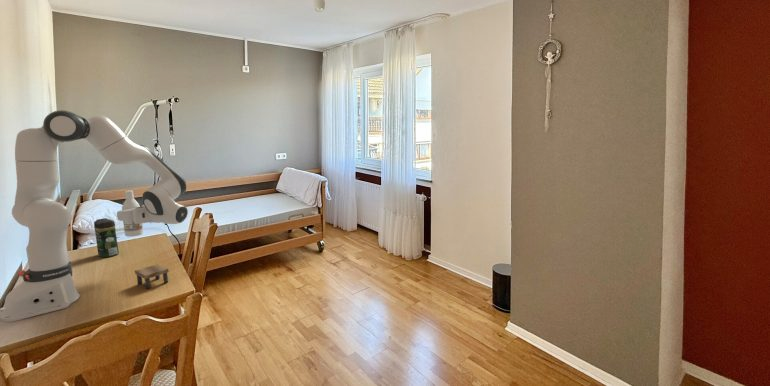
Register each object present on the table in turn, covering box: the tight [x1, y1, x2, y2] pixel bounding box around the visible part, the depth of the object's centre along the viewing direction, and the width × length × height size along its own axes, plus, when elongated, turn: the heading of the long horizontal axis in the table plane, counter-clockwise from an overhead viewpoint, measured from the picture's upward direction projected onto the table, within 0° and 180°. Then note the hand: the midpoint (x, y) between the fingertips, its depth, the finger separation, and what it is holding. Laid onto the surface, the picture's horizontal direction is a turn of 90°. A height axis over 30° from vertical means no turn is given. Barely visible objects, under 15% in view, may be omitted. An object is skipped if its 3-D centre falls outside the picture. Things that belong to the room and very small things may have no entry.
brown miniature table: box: [134, 264, 169, 290], centre depth 160 cm, size 9×9×6 cm
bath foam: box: [121, 189, 144, 238], centre depth 170 cm, size 7×7×20 cm
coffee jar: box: [93, 217, 120, 258], centre depth 192 cm, size 10×8×19 cm
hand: (129, 210), depth 170 cm, fingers closed on bath foam, 7 cm apart
